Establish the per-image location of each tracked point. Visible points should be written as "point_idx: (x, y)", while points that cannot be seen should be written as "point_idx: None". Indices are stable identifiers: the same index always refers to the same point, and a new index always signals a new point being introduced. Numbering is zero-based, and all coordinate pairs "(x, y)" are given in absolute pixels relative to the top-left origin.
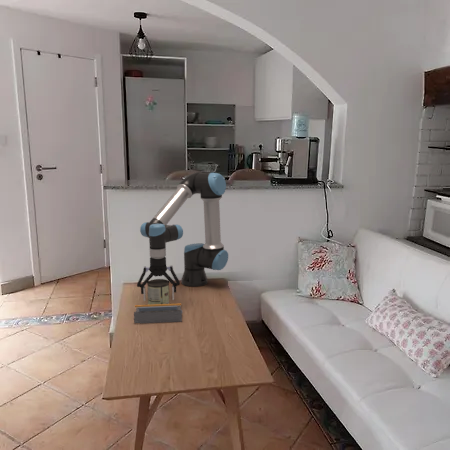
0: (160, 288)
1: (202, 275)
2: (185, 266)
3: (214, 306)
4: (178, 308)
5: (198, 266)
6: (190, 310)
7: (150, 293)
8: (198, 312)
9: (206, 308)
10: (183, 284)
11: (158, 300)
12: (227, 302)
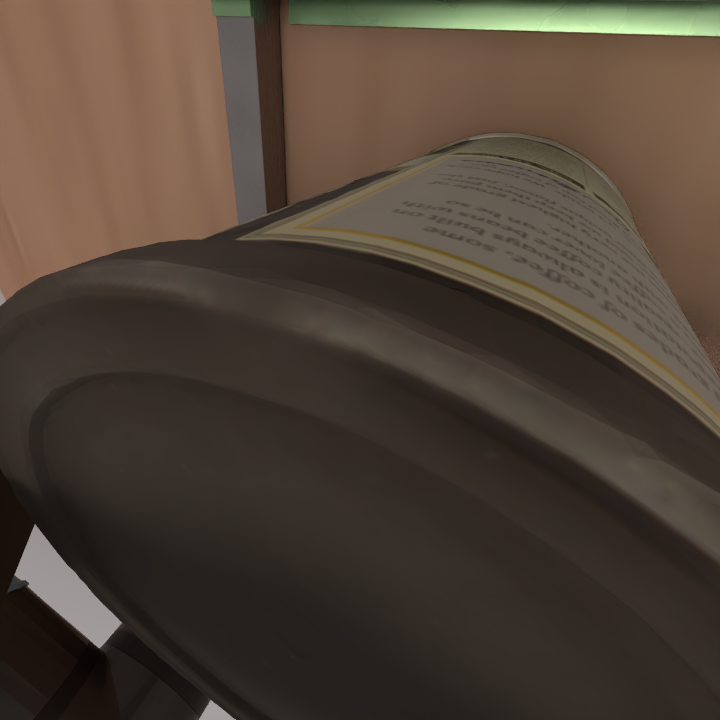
0: (274, 222)
1: None
2: (183, 713)
3: (41, 214)
4: (256, 172)
5: (105, 664)
6: (176, 168)
7: (702, 347)
8: (102, 84)
9: (75, 185)
10: None
11: (485, 157)
12: (4, 267)
